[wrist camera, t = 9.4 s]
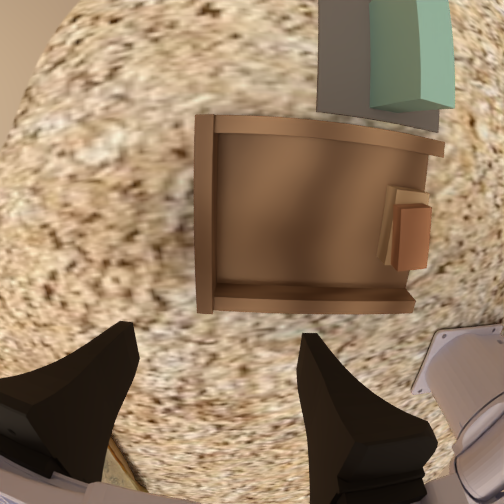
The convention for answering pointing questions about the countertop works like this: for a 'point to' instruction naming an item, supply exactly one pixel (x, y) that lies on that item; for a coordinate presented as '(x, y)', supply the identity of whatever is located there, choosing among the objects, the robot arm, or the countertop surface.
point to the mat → (353, 66)
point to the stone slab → (118, 470)
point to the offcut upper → (410, 236)
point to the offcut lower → (392, 197)
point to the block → (411, 55)
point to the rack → (298, 214)
